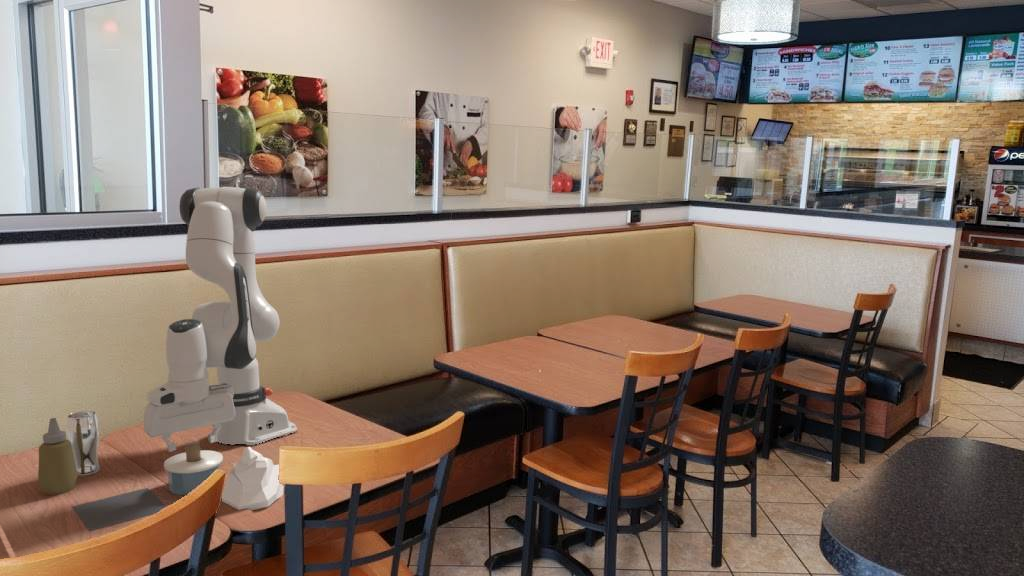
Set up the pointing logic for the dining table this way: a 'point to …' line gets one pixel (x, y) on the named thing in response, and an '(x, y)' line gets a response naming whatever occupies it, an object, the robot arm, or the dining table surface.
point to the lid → (193, 460)
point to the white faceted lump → (252, 482)
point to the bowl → (187, 480)
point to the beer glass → (84, 441)
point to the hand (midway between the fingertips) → (192, 446)
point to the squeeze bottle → (56, 462)
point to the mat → (118, 509)
